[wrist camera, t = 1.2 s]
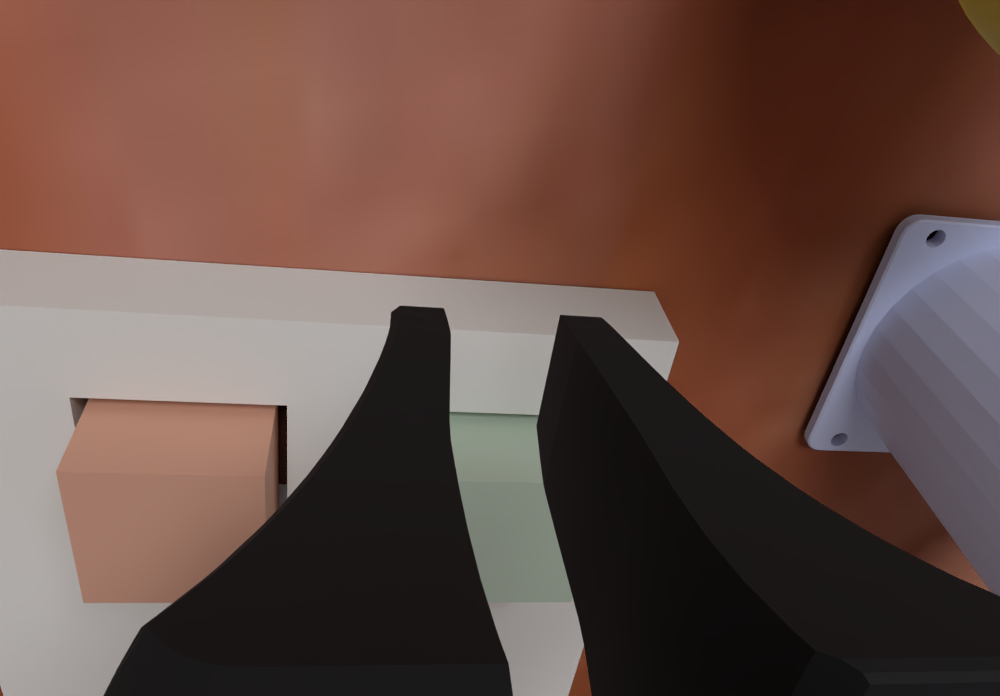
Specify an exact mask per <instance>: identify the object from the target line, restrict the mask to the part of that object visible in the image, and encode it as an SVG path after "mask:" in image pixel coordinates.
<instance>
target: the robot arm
mask: <svg viewBox="0 0 1000 696" xmlns="http://www.w3.org/2000/svg"><path fill="white" fill-rule="evenodd" d="M935 230H937V233H936V235H935V236H934V237H933V238H931V239H930V240H926V239H927V237H928V236H929V234H930V233H932V232H934V231H935ZM450 366H451V331H450V327H449V323H448V319H447V316H446V313H445V310H444V308H434V307H417V306H399V307H397V308H396V309H395V310H393V311H392V312H391V319H390V328H389V332H388V336H387V339H386V342H385V345H384V347H383V350H382V352H381V355H380V358H379V360H378V362H377V364H376V366H375V368H374V370H373V373H372V375H371V377H370V379H369V381H368V383H367V385H366V387H365V389H364V391H363V393H362V395H361V396H360V398H359V400H358V401H357V403H356V405H355V406H354V408H353V410H352V411H351V413H350V415H349V416H348V418H347V420H346V421H345V423H344V425H343V426H342V428H341V430H340V431H339V433H338V434H337V436H336V437H335V438H334V440H333V441H332V443H331V444H330V446H329V447H328V449H327V450H326V451H325V453H324V454H323V455H322V457H321V458H320V459H319V461H318V462H317V463H316V465H315V466H314V467H313V468H312V470H311V471H310V472H309V474H308V475H307V476H306V477H305V479H304V480H303V481H302V482H301V483H300V484H299V485H298V487H297V488H296V489H295V490H294V491H293V492H292V494H291V495H290V496H289V497H288V498H287V499H286V501H285V502H284V503H283V504H282V505H281V506H280V507H279V508H278V509H277V510H276V512H275V513H274V514H273V515H272V516H271V517H270V518H269V519H268V520H267V521H266V522H265V523H264V524H263V525H262V526H261V527H260V528H259V529H258V530H257V531H256V532H255V533H254V534H253V535H251V536H250V537H249V538H248V539H247V540H246V541H245V542H244V543H243V544H242V545H241V546H240V547H239V548H238V549H236V550H235V551H234V552H233V553H232V554H231V555H230V556H229V557H228V558H227V559H226V560H225V561H224V562H223V563H222V564H220V565H219V566H218V567H217V568H216V569H215V570H214V571H212V572H211V573H210V574H209V575H208V576H207V577H205V578H204V579H203V580H202V581H200V582H199V583H198V584H196V585H195V586H194V587H193V588H191V589H190V590H189V591H187V592H186V593H185V594H184V595H182V596H181V597H180V598H178V599H177V600H176V601H175V602H173V603H172V604H171V605H169V606H168V607H167V608H166V609H164V610H163V611H162V612H160V613H159V614H158V615H157V616H155V617H154V618H153V619H151V620H150V621H149V622H147V623H146V624H145V625H143V626H142V627H141V628H140V630H139V632H138V633H137V635H136V637H135V638H134V640H133V642H132V644H131V645H130V647H129V649H128V651H127V652H126V654H125V656H124V658H123V659H122V661H121V663H120V665H119V666H118V668H117V670H116V672H115V674H114V676H113V678H112V680H111V682H110V684H109V686H108V688H107V689H106V691H105V693H104V696H513V692H512V684H511V677H510V670H509V663H508V660H507V658H506V655H505V652H504V650H503V647H502V644H501V641H500V639H499V636H498V633H497V630H496V627H495V624H494V620H493V617H492V614H491V611H490V608H489V604H488V601H487V598H486V595H485V592H484V589H483V585H482V582H481V579H480V575H479V571H478V567H477V563H476V559H475V555H474V551H473V547H472V543H471V539H470V535H469V531H468V527H467V523H466V518H465V513H464V508H463V503H462V498H461V494H460V489H459V484H458V478H457V473H456V467H455V461H454V455H453V450H452V444H451V434H450ZM536 427H537V436H538V445H539V454H540V463H541V470H542V478H543V485H544V490H545V494H546V498H547V502H548V506H549V509H550V513H551V517H552V521H553V525H554V529H555V533H556V536H557V540H558V544H559V548H560V551H561V555H562V559H563V563H564V566H565V570H566V574H567V578H568V582H569V585H570V589H571V593H572V597H573V600H574V604H575V608H576V612H577V615H578V619H579V624H580V629H581V633H582V638H583V643H584V647H585V653H586V660H587V666H588V673H589V679H590V686H591V693H592V696H1000V221H993V220H981V219H970V218H958V217H946V216H935V215H923V214H918V215H912V216H910V217H907V218H905V219H904V220H903V221H902V222H901V223H899V225H898V226H897V228H896V229H895V231H894V234H893V236H892V238H891V240H890V243H889V245H888V247H887V249H886V251H885V254H884V256H883V258H882V260H881V263H880V265H879V267H878V269H877V272H876V274H875V276H874V278H873V280H872V283H871V285H870V287H869V289H868V292H867V294H866V296H865V298H864V301H863V303H862V305H861V307H860V310H859V312H858V314H857V316H856V318H855V321H854V323H853V325H852V327H851V330H850V332H849V334H848V336H847V339H846V341H845V343H844V345H843V347H842V350H841V352H840V354H839V356H838V359H837V361H836V363H835V365H834V368H833V370H832V372H831V374H830V377H829V379H828V381H827V383H826V385H825V388H824V390H823V392H822V394H821V397H820V399H819V401H818V403H817V406H816V408H815V410H814V412H813V415H812V417H811V419H810V421H809V423H808V426H807V428H806V430H805V434H804V437H805V440H806V442H807V443H808V445H809V446H810V447H811V448H812V449H815V450H830V451H861V452H890V453H891V454H892V455H893V457H894V458H895V459H896V461H897V462H898V464H899V465H900V466H901V468H902V469H903V471H904V472H905V473H906V475H907V476H908V478H909V479H910V480H911V482H912V483H913V484H914V486H915V487H916V489H917V490H918V491H919V493H920V494H921V496H922V497H923V498H924V500H925V501H926V503H927V504H928V505H929V507H930V508H931V509H932V511H933V512H934V514H935V515H936V516H937V518H938V519H939V521H940V522H941V523H942V525H943V526H944V528H945V529H946V530H947V532H948V533H949V534H950V536H951V537H952V539H953V540H954V541H955V543H956V544H957V546H958V547H959V548H960V550H961V551H962V553H963V554H964V555H965V557H966V558H967V559H968V561H969V562H970V564H971V565H972V566H973V568H974V569H975V571H976V572H977V573H978V575H979V576H980V578H981V579H982V580H983V582H984V583H985V584H986V586H987V587H988V589H989V590H990V591H991V592H989V591H987V590H984V589H982V588H980V587H977V586H975V585H973V584H970V583H968V582H966V581H963V580H961V579H959V578H957V577H955V576H953V575H950V574H948V573H946V572H944V571H942V570H940V569H938V568H936V567H934V566H932V565H930V564H928V563H926V562H924V561H923V560H921V559H919V558H917V557H915V556H913V555H911V554H909V553H907V552H905V551H903V550H901V549H899V548H897V547H895V546H893V545H891V544H890V543H888V542H886V541H884V540H882V539H880V538H879V537H877V536H875V535H873V534H871V533H869V532H868V531H866V530H864V529H862V528H861V527H859V526H858V525H856V524H854V523H853V522H851V521H849V520H848V519H846V518H844V517H843V516H841V515H839V514H838V513H836V512H834V511H833V510H831V509H829V508H828V507H826V506H824V505H823V504H821V503H819V502H818V501H816V500H815V499H813V498H812V497H810V496H809V495H807V494H806V493H804V492H803V491H801V490H800V489H798V488H797V487H795V486H794V485H792V484H791V483H790V482H788V481H787V480H785V479H784V478H783V477H781V476H780V475H778V474H777V473H776V472H774V471H773V470H771V469H770V468H769V467H767V466H766V465H764V464H763V463H762V462H760V461H759V460H757V459H756V458H755V457H754V456H752V455H751V454H750V453H748V452H747V451H746V450H745V449H743V448H742V447H741V446H739V445H738V444H737V443H736V442H735V441H733V440H732V439H731V438H730V437H729V436H727V435H726V434H725V433H724V432H723V431H721V430H720V429H719V428H718V427H717V426H716V425H714V424H713V423H712V422H711V421H710V420H708V419H707V418H706V417H705V416H704V415H703V414H702V413H701V412H699V411H698V410H697V409H696V408H695V407H694V406H693V405H692V404H691V403H689V402H688V401H687V400H686V399H685V398H684V397H683V396H682V395H681V394H680V393H679V392H678V391H677V390H676V389H675V388H673V387H672V386H671V385H670V384H669V383H668V382H667V381H666V380H665V379H664V378H663V377H662V376H661V375H660V374H659V373H658V372H657V371H656V370H655V369H654V368H653V367H652V366H651V365H650V364H649V363H648V362H647V361H646V360H645V359H644V358H643V357H642V356H641V355H640V354H639V353H638V352H637V351H636V350H635V349H634V348H633V347H632V346H631V345H630V344H629V343H628V342H627V341H626V340H625V339H624V338H623V337H622V336H621V335H620V334H619V333H618V332H617V331H616V330H615V329H614V328H613V327H612V326H611V325H610V324H609V323H607V322H606V321H605V320H604V319H603V318H602V317H588V316H571V315H560V317H559V322H558V327H557V331H556V336H555V341H554V345H553V350H552V355H551V360H550V364H549V369H548V374H547V378H546V383H545V388H544V392H543V397H542V402H541V406H540V411H539V416H538V421H537V425H536ZM839 433H840V434H839ZM837 434H839V435H838V436H836V437H834V436H835V435H837Z"/></svg>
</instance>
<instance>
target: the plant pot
mask: <svg viewBox="0 0 1000 696" xmlns="http://www.w3.org/2000/svg"><path fill="white" fill-rule="evenodd" d="M958 1H959V3H960V5H961V7H962V8H963V10H964V12H965V14H966V16H967V17H968V19H969V20H970V22H971V23H972V24H973V26H974V27H975V29H976V30H977V31H978V33H979V34H980V35H981V36H982V37H983V38H984V40H985V41H986V42H987V43H988V44H989V45H990V46H991V48H992V49H993V50H995V51H996V52H997V53H998V54H999V55H1000V0H958Z"/></svg>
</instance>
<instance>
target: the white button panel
mask: <svg viewBox="0 0 1000 696" xmlns="http://www.w3.org/2000/svg"><path fill="white" fill-rule="evenodd" d="M399 306H417V307H434V308H444V310H445V313H446V316H447V319H448V323H449V327H450V331H451V366H450V412H473V413H499V414H526V415H539V411H540V406H541V402H542V397H543V392H544V388H545V383H546V378H547V374H548V369H549V364H550V360H551V355H552V350H553V345H554V341H555V336H556V331H557V327H558V322H559V317H560V315H571V316H588V317H602V318H603V319H604V320H605V321H606V322H607V323H609V324H610V325H611V326H612V327H613V328H614V329H615V330H616V331H617V332H618V333H619V334H620V335H621V336H622V337H623V338H624V339H625V340H626V341H627V342H628V343H629V344H630V345H631V346H632V347H633V348H634V349H635V350H636V351H637V352H638V353H639V354H640V355H641V356H642V357H643V358H644V359H645V360H646V361H647V362H648V363H649V364H650V365H651V366H652V367H653V368H654V369H655V370H656V371H657V372H658V373H659V374H660V375H661V376H662V377H663V378H664V379H665V380H666V381H667V379H668V376H669V373H670V370H671V367H672V363H673V360H674V357H675V354H676V351H677V347H678V344H679V340H678V338H677V336H676V334H675V332H674V330H673V328H672V326H671V324H670V322H669V320H668V318H667V316H666V314H665V312H664V310H663V308H662V306H661V304H660V302H659V300H658V298H657V296H656V294H655V292H652V291H636V290H621V289H605V288H590V287H574V286H559V285H543V284H528V283H512V282H496V281H481V280H465V279H450V278H434V277H419V276H403V275H388V274H372V273H357V272H341V271H326V270H310V269H295V268H279V267H264V266H248V265H233V264H217V263H201V262H186V261H170V260H155V259H139V258H124V257H108V256H93V255H77V254H62V253H46V252H31V251H15V250H0V686H1V689H2V692H3V695H4V696H104V693H105V691H106V689H107V688H108V686H109V684H110V682H111V680H112V678H113V676H114V674H115V672H116V670H117V668H118V666H119V665H120V663H121V661H122V659H123V658H124V656H125V654H126V652H127V651H128V649H129V647H130V645H131V644H132V642H133V640H134V638H135V637H136V635H137V633H138V632H139V630H140V628H141V627H142V626H143V625H145V624H146V623H147V622H149V621H150V620H151V619H153V618H154V617H155V616H157V615H158V614H159V613H160V612H162V611H163V610H164V609H166V608H167V607H168V606H169V605H171V604H172V603H83V599H82V594H81V589H80V585H79V580H78V575H77V570H76V566H75V561H74V556H73V551H72V547H71V542H70V537H69V532H68V528H67V523H66V518H65V513H64V509H63V504H62V499H61V494H60V490H59V485H58V480H57V475H56V470H57V468H58V466H59V464H60V461H61V459H62V457H63V455H64V452H65V450H66V448H67V446H68V444H69V441H70V439H71V437H72V435H73V433H74V430H75V428H76V426H77V424H78V421H79V419H80V417H81V415H82V413H83V410H84V408H85V406H86V404H87V401H88V399H89V398H97V399H124V400H150V401H177V402H204V403H231V404H258V405H285V406H287V484H279V507H280V506H281V505H282V504H283V503H284V502H285V501H286V499H287V498H288V497H289V496H290V495H291V494H292V492H293V491H294V490H295V489H296V488H297V487H298V485H299V484H300V483H301V482H302V481H303V480H304V479H305V477H306V476H307V475H308V474H309V472H310V471H311V470H312V468H313V467H314V466H315V465H316V463H317V462H318V461H319V459H320V458H321V457H322V455H323V454H324V453H325V451H326V450H327V449H328V447H329V446H330V444H331V443H332V441H333V440H334V438H335V437H336V436H337V434H338V433H339V431H340V430H341V428H342V426H343V425H344V423H345V421H346V420H347V418H348V416H349V415H350V413H351V411H352V410H353V408H354V406H355V405H356V403H357V401H358V400H359V398H360V396H361V395H362V393H363V391H364V389H365V387H366V385H367V383H368V381H369V379H370V377H371V375H372V373H373V370H374V368H375V366H376V364H377V362H378V360H379V358H380V355H381V352H382V350H383V347H384V345H385V342H386V339H387V336H388V332H389V328H390V319H391V312H392V311H393V310H395V309H396V308H397V307H399ZM488 604H489V608H490V611H491V614H492V617H493V620H494V624H495V627H496V630H497V633H498V636H499V639H500V641H501V644H502V647H503V650H504V652H505V655H506V658H507V660H508V663H509V670H510V677H511V684H512V692H513V696H568V695H569V691H570V688H571V685H572V682H573V679H574V675H575V672H576V669H577V666H578V663H579V659H580V656H581V653H582V650H583V647H584V643H583V638H582V633H581V629H580V624H579V619H578V615H577V612H576V608H575V604H574V600H573V597H572V601H571V602H488Z"/></svg>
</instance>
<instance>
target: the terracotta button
mask: <svg viewBox="0 0 1000 696" xmlns="http://www.w3.org/2000/svg"><path fill="white" fill-rule="evenodd" d="M56 475H57V480H58V485H59V490H60V494H61V499H62V504H63V509H64V513H65V518H66V523H67V528H68V532H69V537H70V542H71V547H72V551H73V556H74V561H75V566H76V570H77V575H78V580H79V585H80V589H81V594H82V599H83V603H173V602H175V601H176V600H177V599H178V598H180V597H181V596H182V595H184V594H185V593H186V592H187V591H189V590H190V589H191V588H193V587H194V586H195V585H196V584H198V583H199V582H200V581H202V580H203V579H204V578H205V577H207V576H208V575H209V574H210V573H211V572H212V571H214V570H215V569H216V568H217V567H218V566H219V565H220V564H222V563H223V562H224V561H225V560H226V559H227V558H228V557H229V556H230V555H231V554H232V553H233V552H234V551H235V550H236V549H238V548H239V547H240V546H241V545H242V544H243V543H244V542H245V541H246V540H247V539H248V538H249V537H250V536H251V535H253V534H254V533H255V532H256V531H257V530H258V529H259V528H260V527H261V526H262V525H263V524H264V523H265V522H266V521H267V520H268V519H269V518H270V517H271V516H272V515H273V514H274V513H275V512H276V510H277V509H278V508H279V457H278V405H258V404H231V403H204V402H177V401H150V400H124V399H97V398H89V399H88V401H87V404H86V406H85V408H84V410H83V413H82V415H81V417H80V419H79V421H78V424H77V426H76V428H75V430H74V433H73V435H72V437H71V439H70V441H69V444H68V446H67V448H66V450H65V452H64V455H63V457H62V459H61V461H60V464H59V466H58V468H57V470H56Z"/></svg>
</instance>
